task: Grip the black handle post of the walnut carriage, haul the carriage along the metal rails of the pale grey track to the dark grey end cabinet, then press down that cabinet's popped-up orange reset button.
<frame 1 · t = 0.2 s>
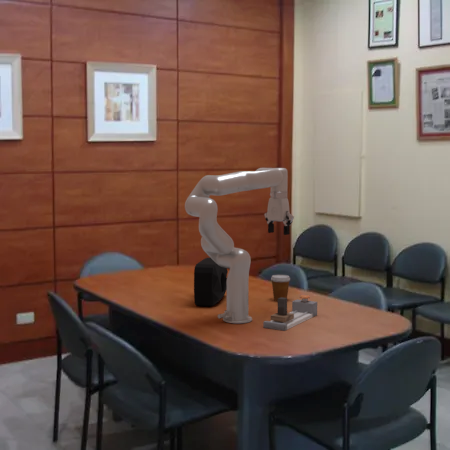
hand: (278, 233, 320), 36 cm above the table, tool pointing down, fingers open, 9 cm apart
black hard case: (213, 301, 348), on the table
carriage: (282, 308, 301), point 7 cm above the table, slide at -7.0 cm
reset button: (304, 298, 319), point 7 cm above the table, slide at 0.0 cm
rail track: (289, 321, 307), on the table
disposable coffee cup: (280, 300, 350), on the table
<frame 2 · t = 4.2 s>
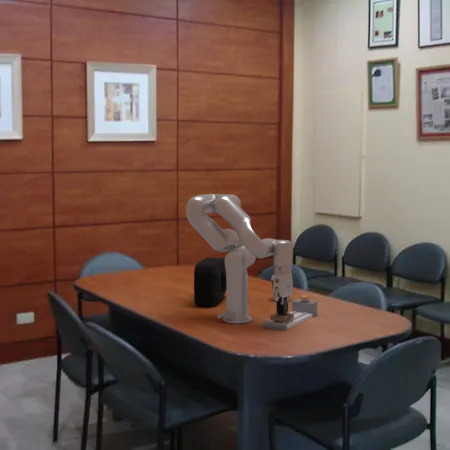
hand: (282, 312, 301), 6 cm above the table, tool pointing down, fingers closed on carriage, 3 cm apart
carriage: (282, 308, 301), point 7 cm above the table, slide at -7.0 cm, touching gripper
everything else where it was.
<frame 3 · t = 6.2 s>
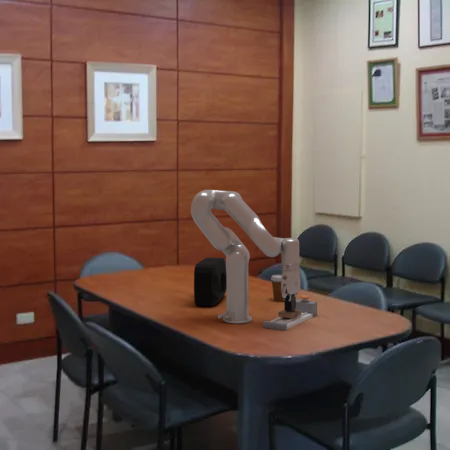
hand: (290, 308, 307), 6 cm above the table, tool pointing down, fingers closed on carriage, 3 cm apart
carriage: (290, 305, 307), point 7 cm above the table, slide at 0.3 cm, touching gripper
everything else where it was.
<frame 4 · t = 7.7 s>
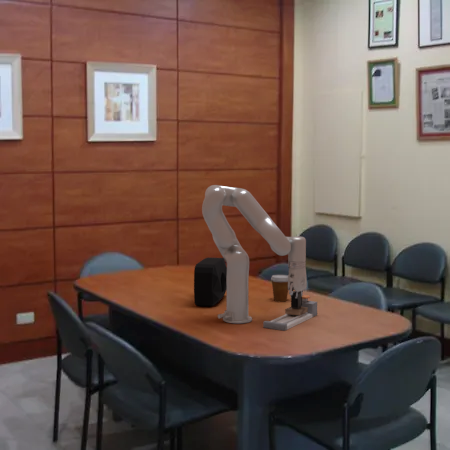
hand: (296, 305, 312), 6 cm above the table, tool pointing down, fingers closed on carriage, 3 cm apart
carriage: (296, 302, 312), point 7 cm above the table, slide at 6.7 cm, touching gripper
everything else where it was.
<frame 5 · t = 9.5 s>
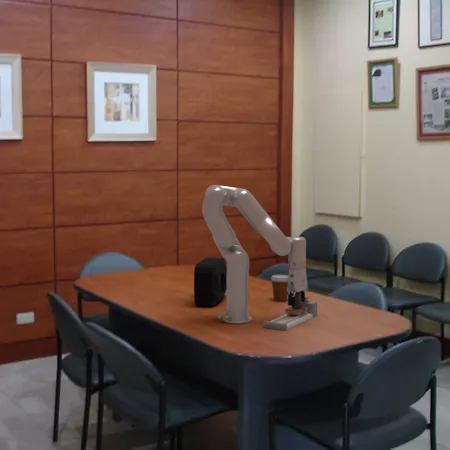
hand: (296, 303, 312), 7 cm above the table, tool pointing down, fingers open, 9 cm apart
carriage: (296, 302, 312), point 7 cm above the table, slide at 6.8 cm
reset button: (304, 298, 319), point 7 cm above the table, slide at 0.0 cm, touching gripper
everything else where it was.
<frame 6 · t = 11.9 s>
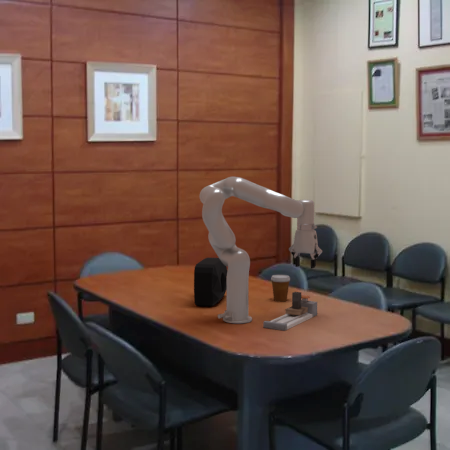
hand: (305, 266, 318), 22 cm above the table, tool pointing down, fingers open, 6 cm apart
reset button: (304, 298, 319), point 7 cm above the table, slide at 0.0 cm
everything else where it was.
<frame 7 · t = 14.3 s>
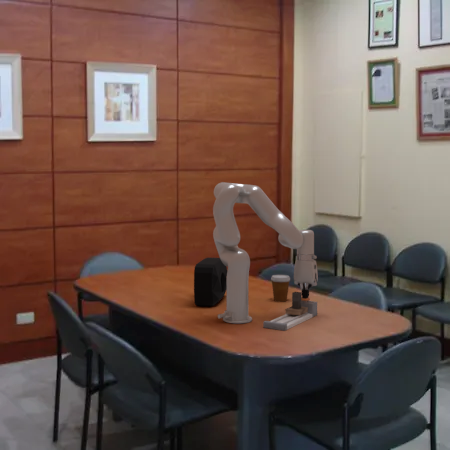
hand: (305, 297, 319), 8 cm above the table, tool pointing down, fingers closed
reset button: (304, 300, 319), point 6 cm above the table, slide at 0.9 cm, touching gripper
everything else where it was.
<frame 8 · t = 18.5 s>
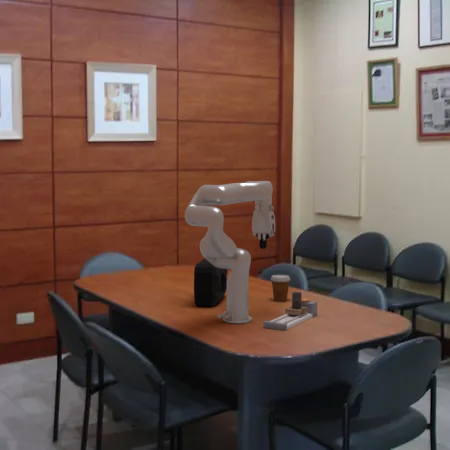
hand: (263, 248, 324), 29 cm above the table, tool pointing down, fingers closed
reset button: (304, 301, 319), point 6 cm above the table, slide at 1.5 cm
everything else where it was.
at the end: carriage slide at 6.8 cm; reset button slide at 1.5 cm; the gripper is holding nothing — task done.
